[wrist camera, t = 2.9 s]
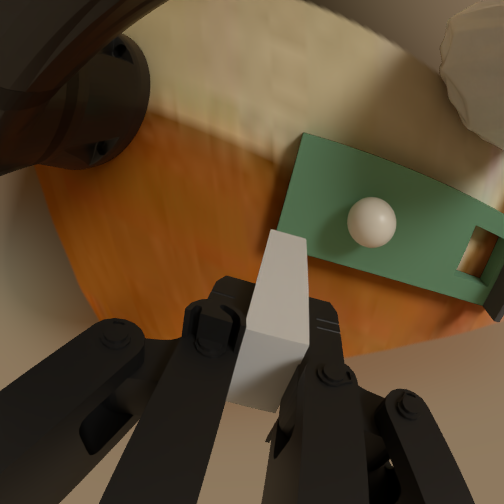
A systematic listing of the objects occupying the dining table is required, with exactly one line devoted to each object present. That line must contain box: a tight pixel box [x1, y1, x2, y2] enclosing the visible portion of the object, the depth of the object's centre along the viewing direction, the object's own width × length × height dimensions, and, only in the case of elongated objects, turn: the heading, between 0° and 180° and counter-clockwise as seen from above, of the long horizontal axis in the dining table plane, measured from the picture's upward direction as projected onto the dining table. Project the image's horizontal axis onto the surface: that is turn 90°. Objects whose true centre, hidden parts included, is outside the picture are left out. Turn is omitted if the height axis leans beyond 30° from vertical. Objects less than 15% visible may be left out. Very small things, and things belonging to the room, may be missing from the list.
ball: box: [347, 197, 396, 248], centre depth 23 cm, size 4×4×4 cm
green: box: [276, 133, 504, 322], centre depth 21 cm, size 28×10×12 cm, turn 77°
